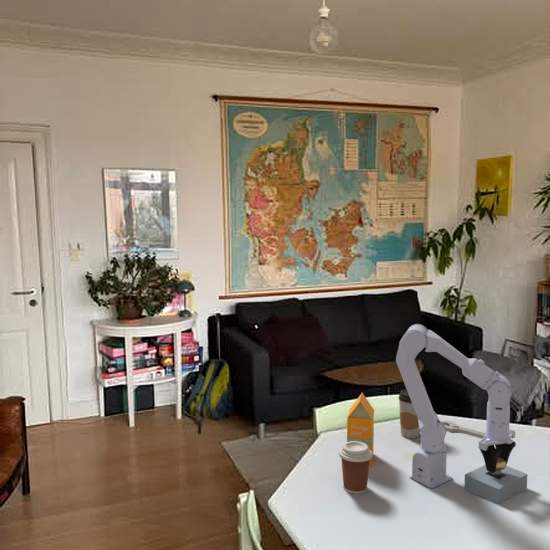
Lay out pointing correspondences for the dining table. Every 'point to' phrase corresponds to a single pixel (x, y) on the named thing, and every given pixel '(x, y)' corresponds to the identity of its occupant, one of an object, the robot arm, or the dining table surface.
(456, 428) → the adjustable wrench
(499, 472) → the brass door knob
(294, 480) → the dining table surface
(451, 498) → the dining table surface
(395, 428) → the dining table surface
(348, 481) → the coffee cup
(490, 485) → the block
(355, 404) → the orange juice
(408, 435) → the coffee cup
